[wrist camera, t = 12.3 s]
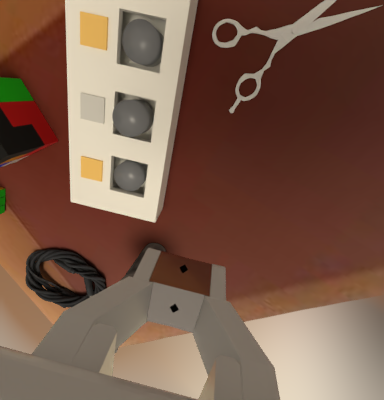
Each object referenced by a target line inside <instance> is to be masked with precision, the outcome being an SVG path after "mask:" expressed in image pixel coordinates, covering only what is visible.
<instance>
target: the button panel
mask: <svg viewBox="0 0 384 400" xmlns="http://www.w3.org/2000/svg"><path fill="white" fill-rule="evenodd" d="M197 4H198V0H65V11H66V47H67V84H68V120H69V157H70V194H71V202H74V203H78V204H82V205H86V206H90V207H94V208H98V209H102V210H106V211H110V212H114V213H118V214H122V215H126V216H130V217H134V218H138V219H142V220H147V221H151V222H156V220H157V218H158V216H159V215H160V213H161V211H162V209H163V204H164V198H165V192H166V186H167V181H168V175H169V169H170V163H171V157H172V151H173V145H174V139H175V134H176V128H177V122H178V116H179V110H180V104H181V98H182V92H183V87H184V81H185V75H186V69H187V63H188V57H189V51H190V45H191V39H192V34H193V28H194V22H195V16H196V10H197ZM135 19H144V20H146V21H148V22H150V23H151V24H152V25H153V26H154V27H155V28H156V29H157V30H158V31H159V32H160V33H161V34H162V35H163V37H164V42H163V50H162V58H161V63H160V64H158V65H157V66H154V67H147V66H144V65H141V64H138V63H135V62H133V61H132V60H131V59H130V58H129V57H128V56H127V55H126V53H125V51H124V48H123V43H122V36H123V32H124V29H125V27H126V26H127V24H128V23H130V22H131V21H132V20H135ZM133 99H139V100H143V101H145V102H146V103H147V104H149V106H150V107H151V109H152V111H153V114H154V121H153V125H152V127H151V128H150V129H149V130H148V131H146V132H144V133H142V134H140V135H138V136H135V137H128V136H125V135H123V134H121V133H120V132H119V131H118V130H117V129H116V127H115V125H114V123H113V118H112V114H113V110H114V108H115V106H116V105H117V104H118V103H119V102H121V101H123V100H133ZM127 159H128V160H132V161H136V162H140V163H144V164H148V169H147V177H146V181H145V182H144V183H143V184H142V185H141V187H140V188H139V189H137V190H135V191H127V190H124V189H122V188H121V187H120V186H118V184H117V183H116V181H115V178H114V171H115V169H116V167H117V166H118V165H119V164H121V163H122V162H124V161H125V160H127Z"/></svg>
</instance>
